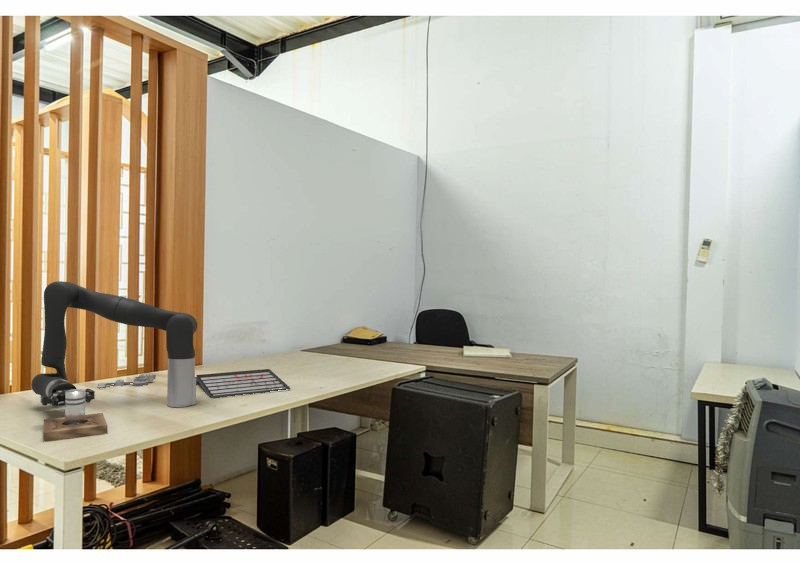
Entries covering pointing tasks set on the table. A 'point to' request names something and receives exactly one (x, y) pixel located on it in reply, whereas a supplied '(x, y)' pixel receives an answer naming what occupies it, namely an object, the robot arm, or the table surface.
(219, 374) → the shutter
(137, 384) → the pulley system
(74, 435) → the ring block
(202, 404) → the table surface
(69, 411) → the salt shaker
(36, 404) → the table surface
